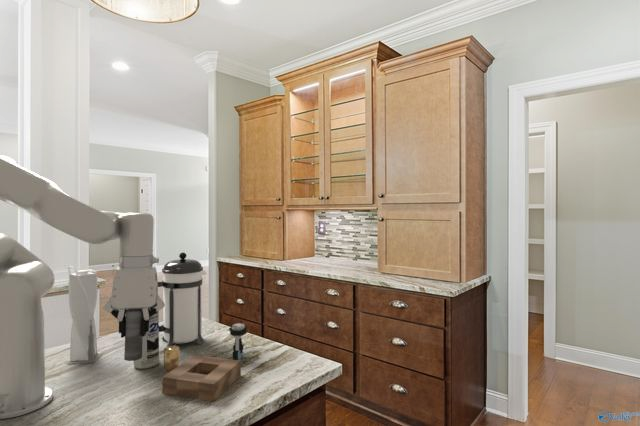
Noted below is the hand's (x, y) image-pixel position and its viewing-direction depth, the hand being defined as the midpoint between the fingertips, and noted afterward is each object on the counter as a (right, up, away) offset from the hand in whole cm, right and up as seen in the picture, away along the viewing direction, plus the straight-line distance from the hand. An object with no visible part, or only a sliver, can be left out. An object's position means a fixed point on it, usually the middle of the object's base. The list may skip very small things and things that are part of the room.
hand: (133, 334), depth 95 cm
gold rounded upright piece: (+5, -13, +11) cm, 18 cm away
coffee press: (0, -13, +31) cm, 33 cm away
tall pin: (0, -6, 0) cm, 6 cm away
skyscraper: (-24, -13, +18) cm, 33 cm away
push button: (+22, -13, +20) cm, 32 cm away
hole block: (+17, -14, +3) cm, 22 cm away
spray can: (-3, -13, +14) cm, 20 cm away
